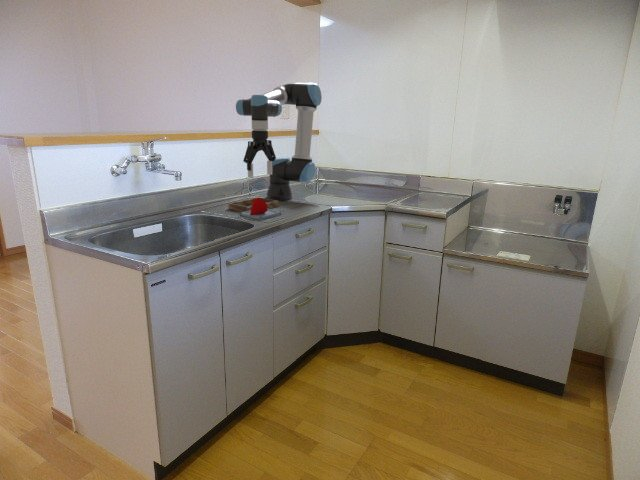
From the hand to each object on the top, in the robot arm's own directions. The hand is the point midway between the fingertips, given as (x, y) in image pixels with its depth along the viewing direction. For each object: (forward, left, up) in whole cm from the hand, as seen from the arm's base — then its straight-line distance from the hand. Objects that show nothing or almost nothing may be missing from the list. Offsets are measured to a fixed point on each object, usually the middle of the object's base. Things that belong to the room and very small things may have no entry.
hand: (260, 175), depth 201 cm
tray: (+1, +1, -19) cm, 19 cm away
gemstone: (+5, +2, -18) cm, 19 cm away
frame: (-9, -13, -19) cm, 24 cm away
